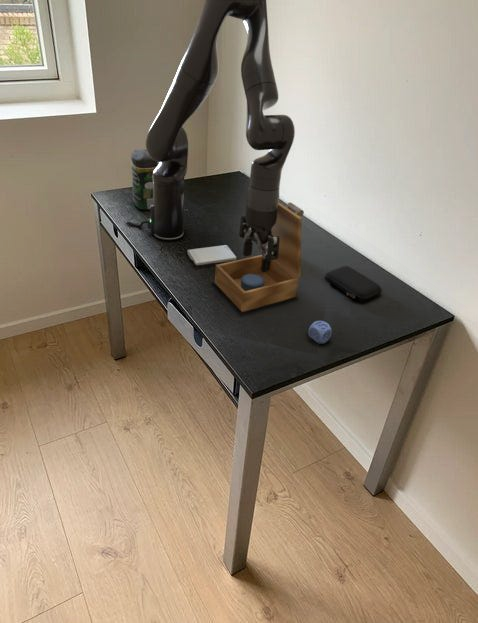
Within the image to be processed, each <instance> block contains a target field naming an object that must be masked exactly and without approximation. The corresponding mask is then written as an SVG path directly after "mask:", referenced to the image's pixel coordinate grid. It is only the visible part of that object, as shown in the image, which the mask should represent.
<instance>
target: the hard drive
mask: <svg viewBox="0 0 478 623" xmlns="http://www.w3.org/2000/svg"><path fill="white" fill-rule="evenodd" d="M186 251H187V252H186V253H187V255H188V257H189V259H190V260H192V261H193V263H194V265H195V266H201V265H202V266H203V265H210V264H216V263H217V264H218V263H226V262H232V261H236V260H238V258H237V255H236V254H234V252H233V251H232V250H231V248H230V247H229V246H228V245H227V244H224V245H223V244H222V245H215V246H207V247H200V248H191V249H187V250H186Z"/></svg>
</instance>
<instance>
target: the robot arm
mask: <svg viewBox="0 0 478 623" xmlns="http://www.w3.org/2000/svg"><path fill="white" fill-rule="evenodd" d="M267 4H268V3H267V0H204V2H203V4H202V8H201V11H200V14H199V17H198V20H197V24H196V26H195V28H194V31H193V34H192V37H191V39H190V41H189V44H188V46H187V48H186V51H185V53H184V55H183V57H182V60H181V62H180V64H179V66H178V69H177V71H176V73H175V75H174V78H173V81H172V83H171V86H170V88H169V90H168V92H167V94H166V97H165V100H164V102H163V104H162V106H161V109H160V110H159V111H158V114H157V115H156V117H155V119H154V121H153V123H152V124H151V126H150V128H149V130H148V132H147V133H146V137H145V149H146V150H147V153H148V155H149V157H150V158H151V159H153V160H154V161H157V162H158V166H157V167H156V168H155V170H154V171H153V174H152V180H153V205H152V206H151V210H150V217H149V218H148V219H147V220H143V221H141V222H140V224H137V223H134V222H131V221H129V220H127V221H126V224H127V225H129V226H133V227H136V228H141V227H143V225H144V224H147V229H150V235H151V236H153V237H155V238H156V239H157V240H161V241H167V242H170V241H171V242H172V241H177V240H180V239H181V238H183V236H184V218H185V217H184V216H185V214H184V213H185V210H184V209H185V178H186V175H187V172H188V165H189V163H188V162H189V151H190V150H189V148H190V146H189V144H190V143H189V138H188V134H187V131H186V129H185V128H184V127H183V126H184V125H185V123H186V122H187V121H188V120H189V119H190V117H191V116H192V115H193V114H194V113H196V111H197V110H198V109H199V108H200V107H201V106H202V105H203V104H204V102H205V101H206V99H207V98H208V96H209V94H210V93H211V90H212V88H213V87H214V84H215V82H216V81H217V78H218V76H219V69H220V67H219V64H220V63H219V53H218V52H219V51H218V38H219V34H220V31H221V29H222V26H223V24H224V22H225V19H226V18H227V17H232V18H235V19H238V20H242V23H243V25H244V28H245V31H246V45H245V49H244V53H243V56H242V59H241V64H240V76H241V82H242V87H243V90H244V95H245V99H246V124H245V137H246V138H245V139H246V141H247V144H248V145H249V146H250V147H251V149H253V150H255V151H267V153H266V154H264V155H263V156H260V157H257V158H255V159H254V160H253V161H252V162H251V165H250V166H251V167H250V174H249V184H248V189H247V195H246V207H245V215H242V216H241V217H240V224H239V232H238V237H239V238H242V243H243V247H242V248H243V249H242V255H243V256H244V257H245V258H247V257H251V256H252V254H253V244H254V243H255V244H256V245H257V248H258V250H259V251H260V254H261V255H262V257H263V258H262V263H261V271H262V272H266V271H269V270H270V265H271V260H274V259H275V260H276V259H278V251H279V241H280V238H279V236H273V235H272V227H273V226H274V225H275V223H276V219H277V211H278V204H279V203H280V189H281V188H280V187H281V178H282V171H283V168H284V166H285V163H286V161H287V158H288V156H289V153H290V152H291V149H292V147H293V143H294V141H295V140H294V139H295V136H296V130H295V124H294V121H293V120H292V118H291V117H290V116H289V115H287V114H267V115H266V114H264V111H265V110H268V109H271V108H272V107H274V106H275V105H277V103H278V101H279V90H278V86H277V85H278V84H277V81H276V78H275V73H274V72H275V71H274V67H273V63H272V58H271V50H270V37H269V36H270V35H269V21H268V6H267ZM267 244H268V246H267ZM273 252H274V254H273ZM266 253H267V254H266Z"/></svg>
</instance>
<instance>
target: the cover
mask: <svg viewBox="0 0 478 623" xmlns="http://www.w3.org/2000/svg"><path fill="white" fill-rule="evenodd" d="M304 213H305V212H304V210H303V209H302V208H300V207H299V206H298V205H296V204H294V203H293V202H288V203H287V204H286V205H284V204H283V203H282V202H281V203H280V202H279V204H278V211H277V219H276V223H275V225H274V226H273V227H272V235H273V236H279V238H280V241H279V251H278V259H275V260H277V261H278V262H279V263H280V264H281V265H283V266H284V267H285V268H286V269H287V270H289V271H290V272H291V273H292V274H293V275H294V276H296V277H297V278H298V279H300V278H301V270H302V268H301V266H302V221H303V219H302V216H304ZM266 246H268V244H267V243H266ZM273 254H274V252H273Z"/></svg>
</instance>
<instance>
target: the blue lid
mask: <svg viewBox="0 0 478 623" xmlns="http://www.w3.org/2000/svg"><path fill="white" fill-rule="evenodd" d="M263 286H264V279H263V277H261V276H260V275H257V274H246V275H244V276H243V277H242V279H241V288H242V289H243V290H244V291H248V290H252V289H256V288H260V287H263Z"/></svg>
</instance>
